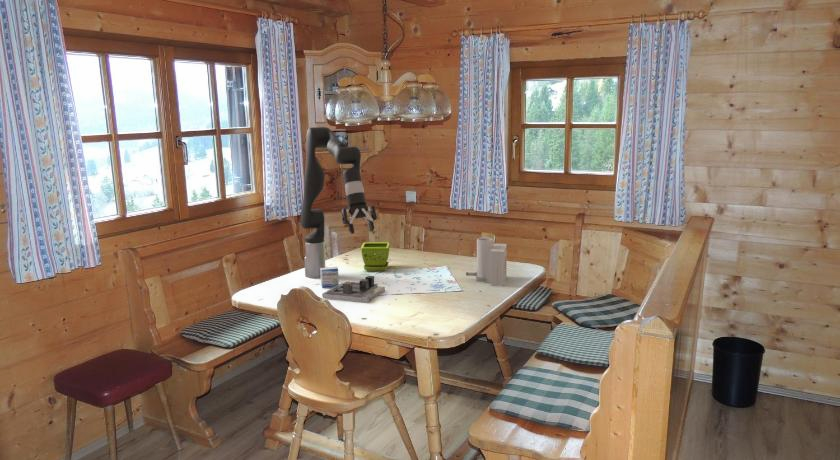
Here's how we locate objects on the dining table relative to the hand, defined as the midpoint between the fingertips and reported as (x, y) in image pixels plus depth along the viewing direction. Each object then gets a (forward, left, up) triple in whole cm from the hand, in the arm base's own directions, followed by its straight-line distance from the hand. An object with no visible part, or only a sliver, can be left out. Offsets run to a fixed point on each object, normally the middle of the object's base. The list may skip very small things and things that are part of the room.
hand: (362, 232), depth 254 cm
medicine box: (-29, +22, -32) cm, 48 cm away
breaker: (-12, +7, -29) cm, 32 cm away
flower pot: (-21, +57, -32) cm, 69 cm away
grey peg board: (-12, +13, -31) cm, 36 cm away
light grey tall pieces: (+38, +52, -32) cm, 72 cm away
